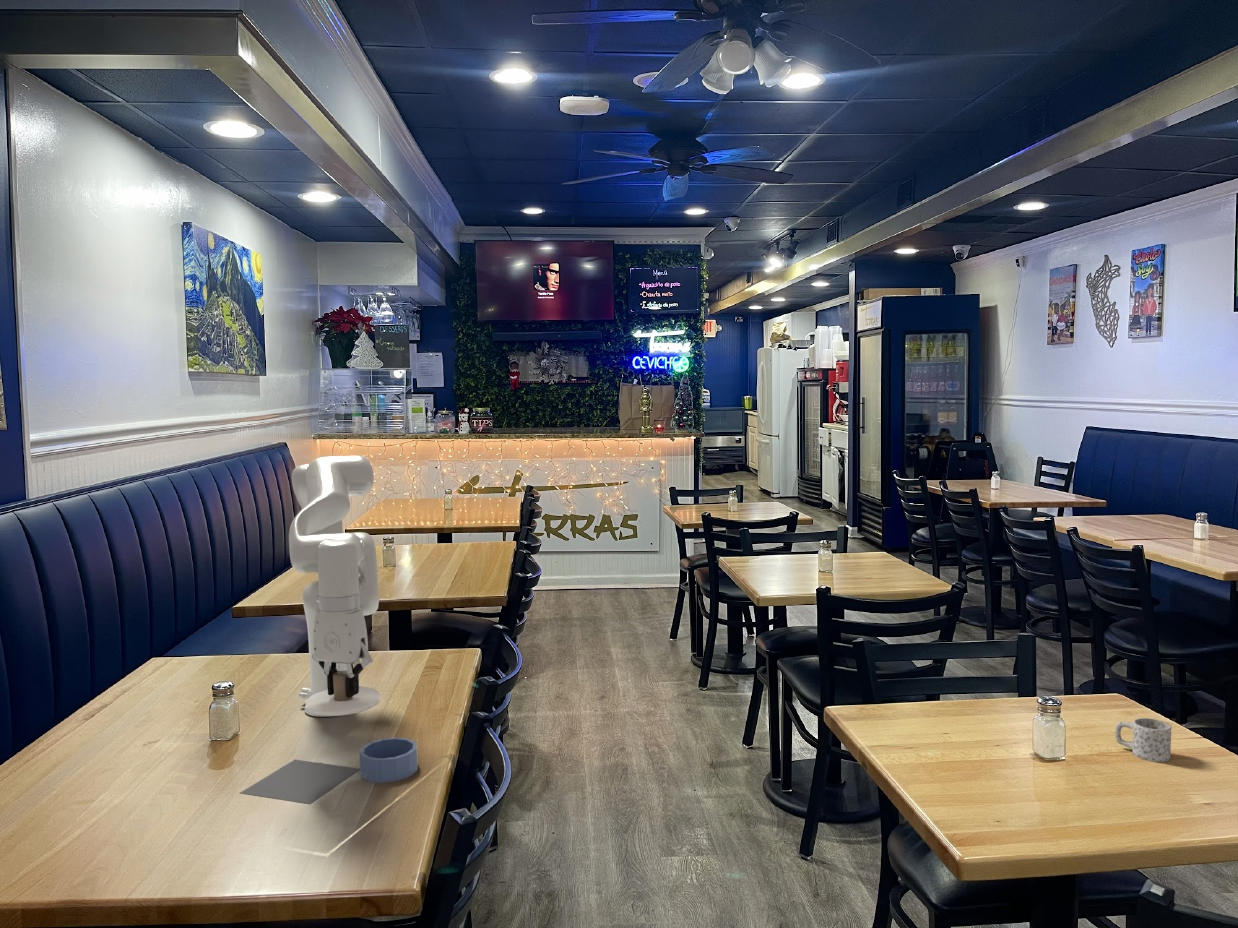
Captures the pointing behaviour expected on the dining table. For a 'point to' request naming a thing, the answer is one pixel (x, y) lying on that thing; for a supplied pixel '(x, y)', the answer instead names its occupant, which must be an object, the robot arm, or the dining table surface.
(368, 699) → the lid
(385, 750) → the bowl
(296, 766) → the mat
